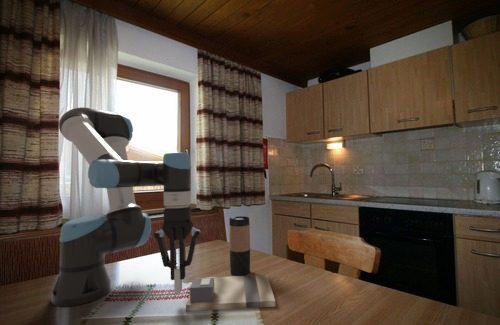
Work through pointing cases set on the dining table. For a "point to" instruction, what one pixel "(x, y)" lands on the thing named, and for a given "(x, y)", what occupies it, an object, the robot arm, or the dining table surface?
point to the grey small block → (202, 290)
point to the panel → (237, 293)
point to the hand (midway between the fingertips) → (178, 291)
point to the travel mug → (239, 245)
